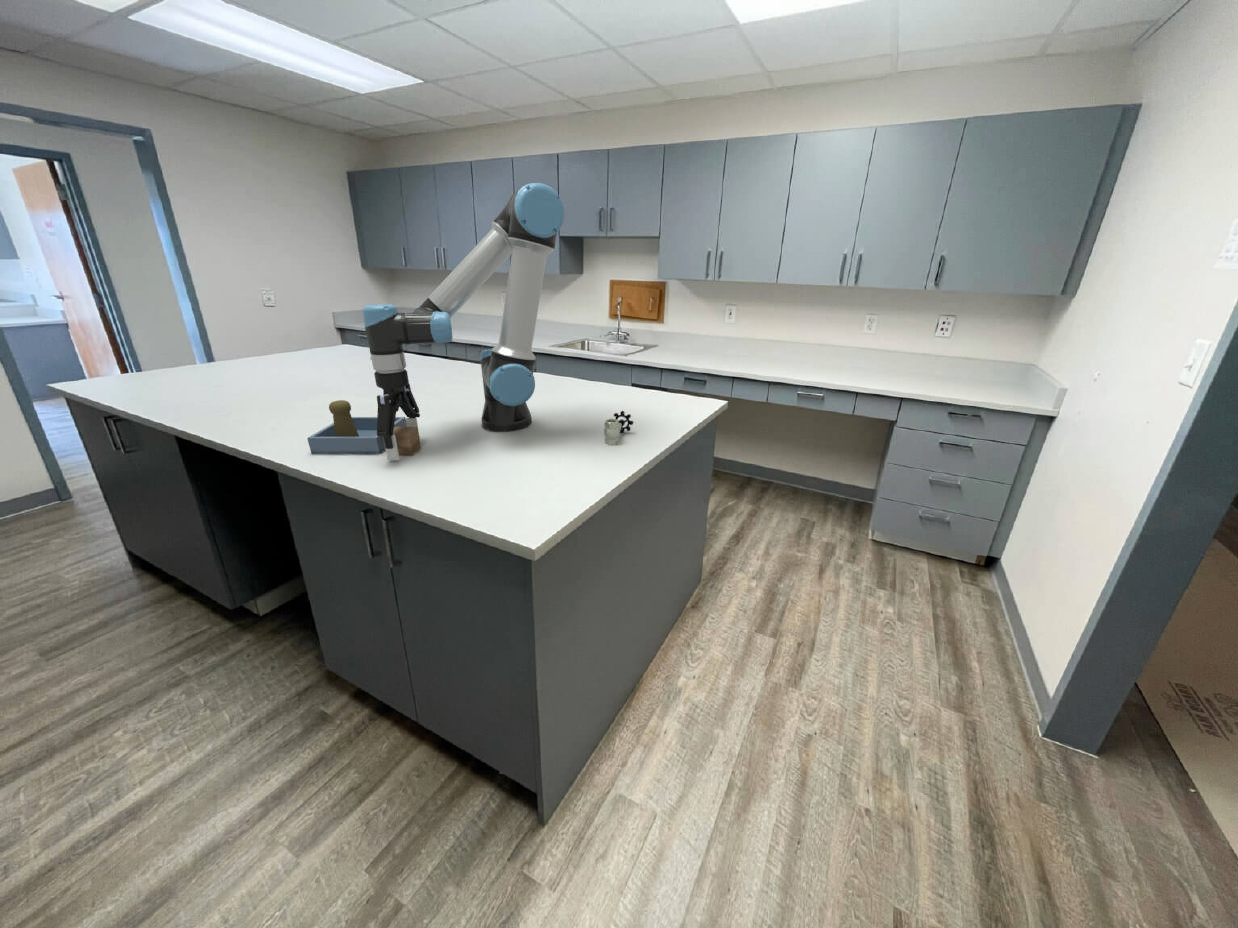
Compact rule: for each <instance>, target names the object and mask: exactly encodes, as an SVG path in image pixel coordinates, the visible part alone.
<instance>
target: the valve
mask: <svg viewBox="0 0 1238 928" xmlns="http://www.w3.org/2000/svg"><path fill="white" fill-rule="evenodd" d="M619 412H620V413H618V412H615V413H614V414H613V417H615V418H608V419H605V420H604V429H603V435H604V444H605V445H607V446H617V445H618V444H619V436H620V433H621V434H623V433H625V432H626V431H627V432H630V431H631V426H633V425H634V424H635V423H634V421H633V420H630V419H631V418H632V415H631V414H630V413H628V414H627V415H626V413H625V410H621V411H619ZM619 418H621V419H619ZM623 418H624V419H623ZM626 423H627V425H626V426H625V424H626Z"/></svg>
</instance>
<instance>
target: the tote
mask: <svg viewBox="0 0 1238 928" xmlns="http://www.w3.org/2000/svg"><path fill="white" fill-rule="evenodd" d="M351 417H352V419H353V422H354V424H355V427H356V430H357V432H358V435H359V437H335V432H334V422H332V423H331V424H329V425H327V426H326V427H323V428H322V429H320V430H318V431H317V432H315V433H313V434H312V435H310V436H308V437H307V438H306V439H307V443H308V445H309V446H308V447H309V450H310V454H311V455H381V454H382V453H383V452H384V451H386V449H385V444H384V439H383V436H377V416H351ZM394 427H407V425H406V416H396V417H395V424H394Z"/></svg>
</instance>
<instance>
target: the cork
mask: <svg viewBox="0 0 1238 928" xmlns="http://www.w3.org/2000/svg"><path fill="white" fill-rule="evenodd" d="M328 409H329V411H330V414H332V416H333V417H332V418H333V419H332V421H333V423H334V432H335V437H359V435H358V432H357V430H356V427H355V424H354V422H353V419H352V417H353V416H352V414H351V410H352V405H351V403H350V402H349V401H348V400H344V399H342V400H341V399H340V400H335V401H331V402H330V403H329V404H328Z"/></svg>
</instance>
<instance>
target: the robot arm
mask: <svg viewBox="0 0 1238 928" xmlns="http://www.w3.org/2000/svg"><path fill="white" fill-rule="evenodd" d="M564 221H565V206H564V203H563V201H562V199H561V196H560V195H559V194H558V192H557V191H556V190H555V189H554V188H553V187H551V186H549V185H547V184H545V183H540V182H534V183H533V182H532V183H527V184H524V185H523V186H522V187H521V188H520V189H518V190H517V191H515V192H514V193H513V194H512V195H511V196H510V197H509V200H508V201H507V203H506V204H505V205H504V207H503V208H502V209H501V211H500V213H498V215H497V216H496V217H495V218H494V220H493V221H492V222H491V229H490V230H489V232H488V233H486V235H485V236H484V237H482V238H481V240H480V241H479V242H478V243H477V244H476V245H475V246H474V248H473V249H472V250H470V251H469V253H467V255H466V256H465V257H464V258H463V259H462V260H461V261H460V262H459V263H458V265H457V266H455V268H453V270H452V271H451V272H450V273H449V275H447V276H446V278H445V279H443V281H442V282H441V283H440V284H439V285H438V286H437V287H436V288H435V289H434V290H433V291H432V293H431V294H430V295H429V296H428V297H427V298H426V299H425V300H424V301H423V302H422V303H421V305H420V306H418V307H417V308H415V309H414V311H413V312H399V310H398V309H397V306H396V305H395V304H387V303H386V304H383V303H382V304H381V303H379V304H368V305H365V306H364V307H363V309H362V314H363V315H362V316H363V322H364V329H365V335H366V339H367V344H368V347H369V353H370V357H369V358H370V360H371V364H372V368H373V370H374V371H375V372H373V375H374V379H375V385H376V387H377V388H380V389H382V395H379V394H378V395H377V396H376V401H377V416H376V417H377V436H383V439H384V444H385V449H386V450H385V454H386V459H387V460H388V461H399V460H400V456H399V453H398V448H397V443H396V437H395V435H393V430H394V424H395V417H397V412H398V411H399V409H401V410H402V412H403V413H404V415H405V419H406V425H407V427H418V428H419V426H418V419H417V418H420V417H421V414H420V408H419V405H418V404H417V401H416V399H415V396H414V395H413V392H412V388H411V384H410V381H409V374H408V370H407V369H406V368H407V363H406V358H405V357H406V356H405V351H404V346H405V345H407V346H408V345H426V344H427V345H431V344H433V345H434V344H437V345H440V344H444V343H451V342H452V341H453V330H452V329H453V328H452V320H451V318H453V316H454V315H455V314H456V313H457V312H458V311H459V310H461V308H462V307H463V306H464V305H465V304H466V302H467V301H469V300H470V298H472V297H473V295H474V294H475V293H476V292H477V291H478V290H479V289H480V288H481V287H482V286H483V285H484V284H485V283H486V282H487V281H488V279H489V278H490V277H491V276H492V275H493V274H494V273H495V272H496V271H498V269H499V268H500V266H502V264H503V263H504V262H505V261H506V260H507V259H508V258H509V257H510V256H511V257H510V258H511V259H510V263H509V270H508V272H509V273H508V277H507V278H508V279H507V285H506V292H505V299H504V303H503V304H504V305H503V313H502V319H501V327H500V332H499V333H500V334H499V340H498V344H497V345H495V346H494V347H493V348H488V349H483V350H481V351H480V354H479V362H480V368H481V369H480V370H481V377H482V385H483V394H484V404H483V410H482V414H481V421H480V422H481V428H483V429H484V430H486V431H491V432H514V431H519V430H522V429H525V428H527V427H528V428H529V427H530V426H531V425H532V423H533V419H532V418H533V417H532V413H531V411H530V409H529V407H528V404H527V401H529V400H530V399H531V398H532V396H533V394H534V392H535V388H536V380H535V376H534V371H535V364H536V358H537V357H536V355H534V353H533V351H532V347H533V343H534V342H533V340H534V336H535V331H536V323H537V318H538V313H539V312H538V311H539V306H540V301H541V300H540V299H541V295H542V294H541V293H542V288H543V283H544V282H543V281H544V276H545V270H546V265H547V264H546V263H547V257H548V256H549V255H550V254H552V253H553V252H555V248H556V240H557V236H558V233H559V231H560V230H561V228H562V226H563V224H564ZM418 432H419V429H418ZM419 433H420V432H419ZM419 437H420V435H419ZM420 438H421V437H420Z"/></svg>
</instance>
